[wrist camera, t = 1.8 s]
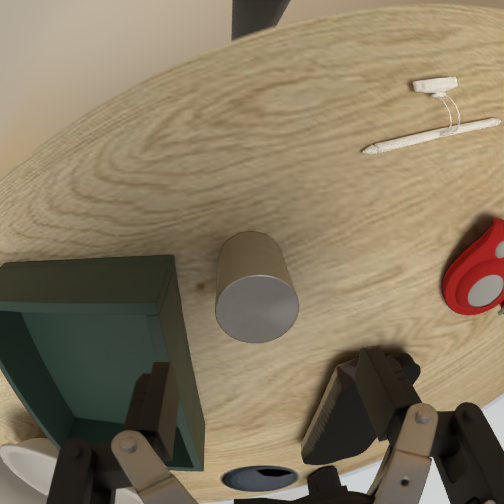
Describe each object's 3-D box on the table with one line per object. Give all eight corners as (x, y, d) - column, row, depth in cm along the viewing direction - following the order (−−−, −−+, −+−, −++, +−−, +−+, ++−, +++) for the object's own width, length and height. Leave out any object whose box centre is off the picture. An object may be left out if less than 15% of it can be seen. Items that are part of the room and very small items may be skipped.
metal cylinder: (216, 232, 21) (211, 277, 15) (282, 229, 21) (301, 272, 15) (220, 290, 22) (218, 345, 17) (281, 287, 23) (297, 340, 17)
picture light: (362, 157, 19) (375, 162, 17) (345, 93, 17) (357, 91, 15) (498, 124, 18) (515, 127, 16) (489, 74, 16) (506, 74, 14)
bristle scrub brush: (335, 345, 25) (348, 375, 22) (413, 343, 26) (430, 368, 23) (294, 443, 32) (298, 468, 29) (357, 438, 33) (365, 460, 30)
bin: (4, 262, 20) (-35, 299, 15) (173, 254, 21) (156, 302, 16) (75, 414, 28) (61, 453, 23) (205, 424, 29) (203, 471, 24)
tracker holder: (430, 323, 24) (480, 230, 18) (421, 289, 28) (460, 201, 21) (518, 330, 23) (567, 255, 17) (505, 301, 26) (546, 228, 20)
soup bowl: (-11, 390, 27) (-30, 423, 21) (148, 429, 29) (140, 478, 23) (49, 471, 37) (41, 498, 31) (172, 498, 39) (170, 530, 33)
